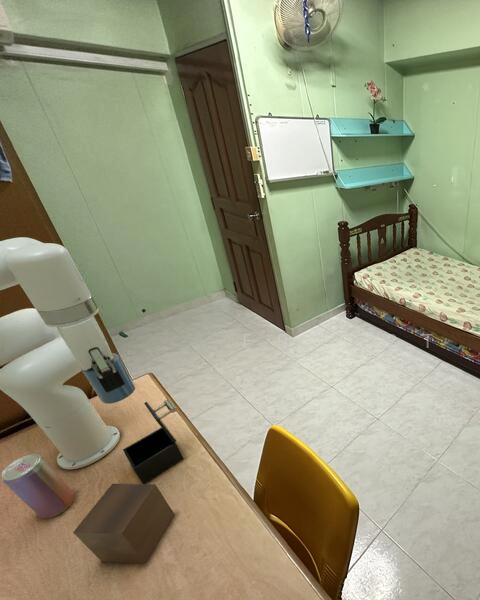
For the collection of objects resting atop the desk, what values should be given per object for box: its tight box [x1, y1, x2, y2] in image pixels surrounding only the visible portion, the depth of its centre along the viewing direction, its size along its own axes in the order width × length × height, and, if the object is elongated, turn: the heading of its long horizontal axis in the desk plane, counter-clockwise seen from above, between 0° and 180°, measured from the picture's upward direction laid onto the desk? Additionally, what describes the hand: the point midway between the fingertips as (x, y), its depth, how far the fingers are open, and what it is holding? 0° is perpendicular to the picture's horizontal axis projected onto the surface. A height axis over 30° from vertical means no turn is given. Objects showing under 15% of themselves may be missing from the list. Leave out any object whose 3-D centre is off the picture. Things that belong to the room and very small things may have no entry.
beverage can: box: [0, 453, 75, 519], centre depth 68 cm, size 6×6×15 cm
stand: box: [72, 482, 176, 564], centre depth 64 cm, size 9×9×12 cm
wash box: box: [122, 426, 185, 484], centre depth 80 cm, size 9×8×6 cm
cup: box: [81, 352, 136, 404], centre depth 67 cm, size 6×6×9 cm
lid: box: [143, 398, 178, 443], centre depth 80 cm, size 10×8×4 cm
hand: (110, 380), depth 67 cm, fingers closed on cup, 6 cm apart
